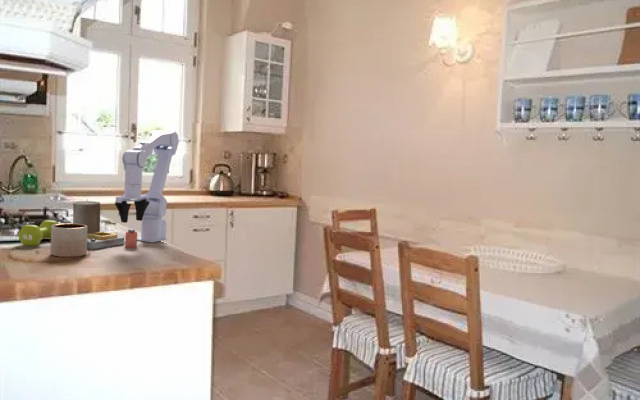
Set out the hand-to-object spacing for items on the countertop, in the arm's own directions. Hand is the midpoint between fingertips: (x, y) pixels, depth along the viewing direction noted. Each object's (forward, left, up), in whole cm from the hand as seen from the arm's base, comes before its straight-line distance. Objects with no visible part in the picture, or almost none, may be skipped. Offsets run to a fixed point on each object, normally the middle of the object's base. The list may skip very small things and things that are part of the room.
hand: (131, 221), depth 198 cm
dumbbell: (+15, -28, -10) cm, 33 cm away
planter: (+23, -5, -10) cm, 25 cm away
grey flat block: (+6, -11, -9) cm, 16 cm away
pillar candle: (-2, -24, -10) cm, 26 cm away
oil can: (0, 0, -9) cm, 9 cm away
